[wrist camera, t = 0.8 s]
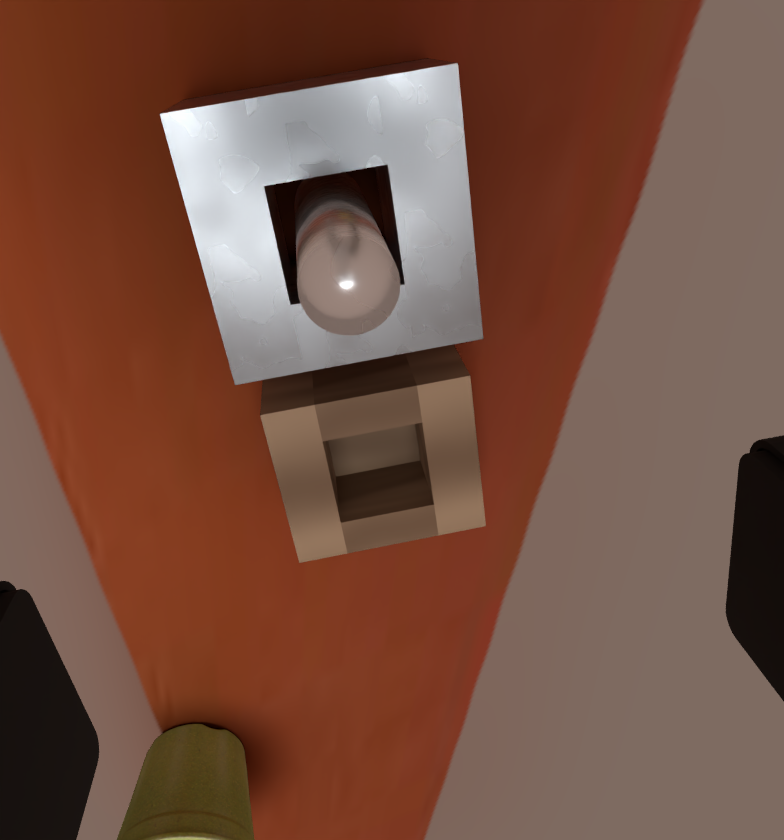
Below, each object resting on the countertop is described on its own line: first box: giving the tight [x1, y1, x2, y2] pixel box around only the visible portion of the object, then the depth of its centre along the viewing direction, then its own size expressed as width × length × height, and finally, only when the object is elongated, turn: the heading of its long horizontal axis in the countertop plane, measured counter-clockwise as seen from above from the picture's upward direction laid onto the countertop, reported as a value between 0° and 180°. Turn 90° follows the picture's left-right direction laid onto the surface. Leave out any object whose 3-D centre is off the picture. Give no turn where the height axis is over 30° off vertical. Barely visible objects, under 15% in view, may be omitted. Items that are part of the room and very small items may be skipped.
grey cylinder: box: [294, 172, 400, 336], centre depth 27 cm, size 3×3×12 cm
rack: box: [260, 344, 486, 563], centre depth 35 cm, size 8×9×5 cm
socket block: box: [160, 58, 483, 385], centre depth 29 cm, size 10×10×6 cm
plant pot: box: [117, 724, 254, 840], centre depth 43 cm, size 9×9×9 cm
